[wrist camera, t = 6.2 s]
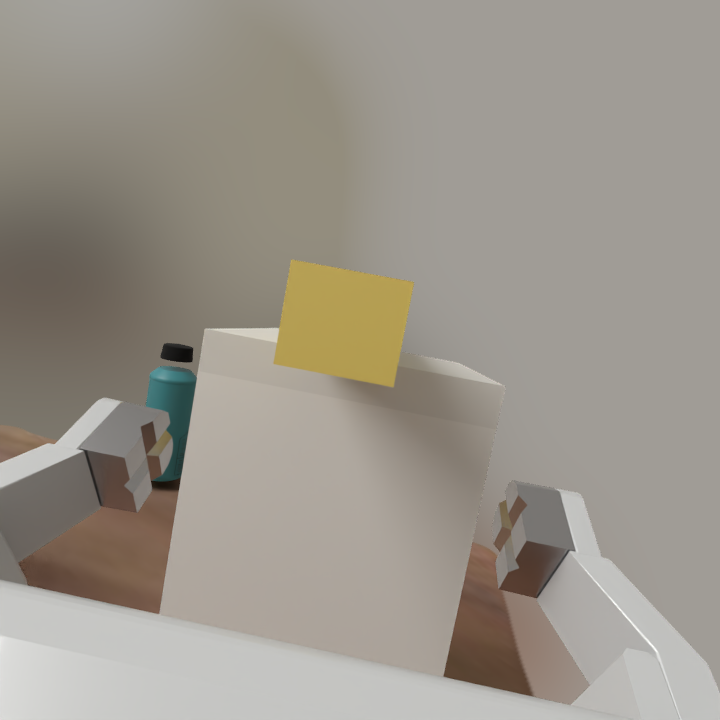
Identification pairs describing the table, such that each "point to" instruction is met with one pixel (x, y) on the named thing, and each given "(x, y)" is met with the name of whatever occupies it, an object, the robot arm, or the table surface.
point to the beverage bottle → (174, 402)
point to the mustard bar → (343, 323)
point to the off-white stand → (330, 501)
